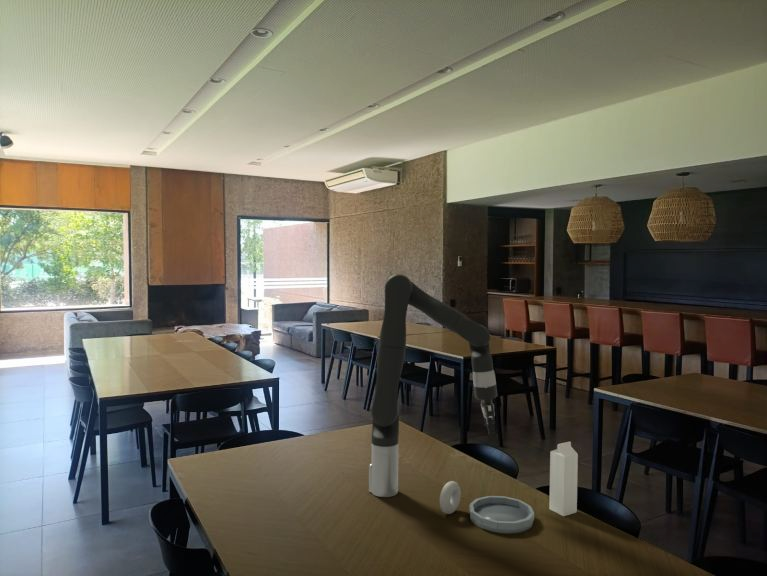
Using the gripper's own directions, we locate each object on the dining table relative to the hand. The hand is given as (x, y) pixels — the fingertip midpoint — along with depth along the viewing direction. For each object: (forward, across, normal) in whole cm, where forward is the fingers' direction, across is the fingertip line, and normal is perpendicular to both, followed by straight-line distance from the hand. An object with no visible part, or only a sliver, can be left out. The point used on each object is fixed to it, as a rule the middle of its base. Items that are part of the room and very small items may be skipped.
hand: (490, 431), depth 188 cm
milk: (+25, +10, +19) cm, 33 cm away
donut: (+21, +14, -17) cm, 30 cm away
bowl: (+22, +17, -2) cm, 28 cm away
